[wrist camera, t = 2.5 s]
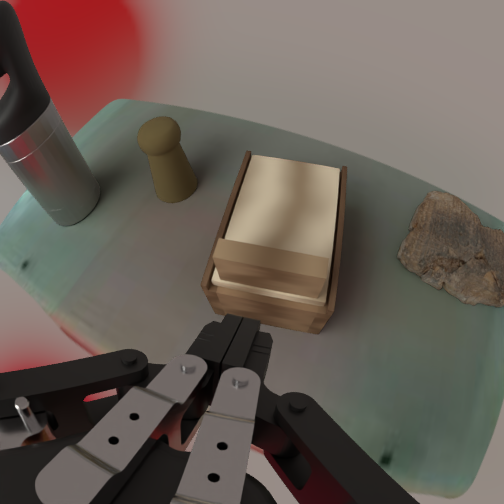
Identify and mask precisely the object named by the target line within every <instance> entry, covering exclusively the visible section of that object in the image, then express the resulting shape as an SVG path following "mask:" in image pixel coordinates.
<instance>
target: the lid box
mask: <svg viewBox="0 0 504 504" xmlns="http://www.w3.org/2000/svg"><path fill="white" fill-rule="evenodd" d="M251 158H252V157H251V151H246V154H245V157H244V159H243V162H242V165H241V168H240V170H239V173H238V176H237V179H236V181H235V184H234V187H233V190H232V193H231V195H230V198H229V201H228V204H227V207H226V210H225V213H224V216H223V218H222V221H221V224H220V227H219V230H218V233H217V236H216V239H215V242H214V245H213V248H212V251H211V254H210V257H209V260H208V263H207V266H206V269H205V272H204V275H203V278H202V282H201V287H202V289H203V291H204V293H205V295H206V297H207V299H208V301H209V303H210V304H211V306H212V308H213V310H214V312H215V314H220V315H224V316H226V314H227V313H229V314H233V315H238V316H242V317H247V318H252V319H257V320H261V324H266V325H270V326H275V327H281V328H286V329H291V330H296V331H302V332H307V333H313V334H319V332H320V331H321V329H322V328H323V327H324V325H325V324H326V322H327V321H328V320H329V318H330V317H331V315H332V314H333V312H334V308H335V300H336V293H337V285H338V277H339V268H340V259H341V249H342V238H343V226H344V213H345V199H346V181H347V167H346V166H342V170H341V172H339V186H338V199H337V211H336V221H335V231H334V241H333V249H332V258H331V266H330V274H329V281H328V288H327V295H326V302H325V304H324V306H317V305H312V304H306V303H301V302H296V301H290V300H285V299H280V298H275V297H270V296H265V295H260V294H255V293H250V292H245V291H240V290H235V289H231V288H226V287H221V286H217V285H213V283H212V277H213V274H214V271H215V267H216V266H215V263H214V260H213V254H214V251H215V248H216V245H217V242H218V239H219V238H222V239H225V236H226V233H227V230H228V227H229V224H230V220H231V217H232V214H233V211H234V208H235V205H236V202H237V199H238V196H239V193H240V190H241V187H242V184H243V181H244V178H245V175H246V172H247V170H248V167H249V164H250V161H251Z"/></svg>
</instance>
